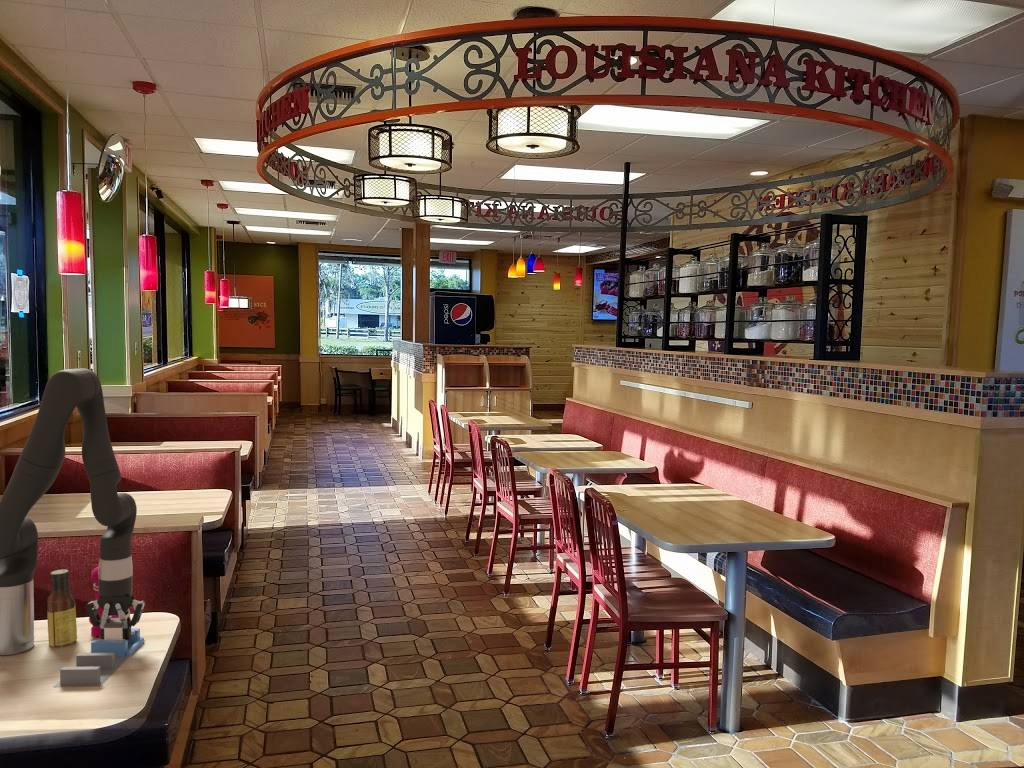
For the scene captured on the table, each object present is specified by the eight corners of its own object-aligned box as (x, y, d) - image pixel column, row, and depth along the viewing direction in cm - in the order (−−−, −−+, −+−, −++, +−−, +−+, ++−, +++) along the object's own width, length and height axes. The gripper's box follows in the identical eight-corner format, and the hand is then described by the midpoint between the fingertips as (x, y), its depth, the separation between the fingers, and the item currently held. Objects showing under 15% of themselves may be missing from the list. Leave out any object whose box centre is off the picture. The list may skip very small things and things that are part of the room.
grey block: (104, 647, 188) (104, 624, 188) (111, 641, 192) (111, 618, 192) (121, 647, 189) (121, 623, 188) (127, 641, 193) (127, 618, 192)
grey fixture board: (53, 693, 170) (53, 671, 169) (105, 646, 196) (104, 627, 195) (100, 692, 171) (100, 671, 170) (145, 645, 197) (145, 626, 196)
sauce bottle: (82, 644, 197) (82, 568, 195) (66, 654, 190) (65, 576, 189) (58, 642, 197) (58, 567, 196) (41, 652, 191) (40, 574, 190)
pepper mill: (85, 639, 200) (85, 564, 199) (92, 628, 207) (92, 556, 205) (116, 636, 202) (116, 562, 201) (122, 626, 209) (121, 554, 207)
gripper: (151, 569, 194) (151, 635, 195) (92, 569, 192) (93, 636, 194) (139, 579, 186) (139, 647, 187) (78, 579, 185) (79, 648, 186)
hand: (116, 641), depth 190 cm, fingers closed on grey block, 4 cm apart
